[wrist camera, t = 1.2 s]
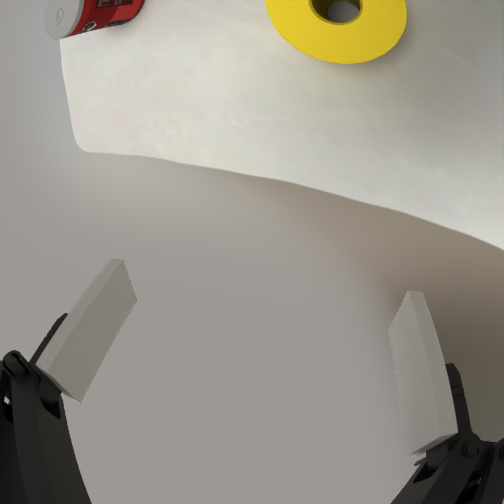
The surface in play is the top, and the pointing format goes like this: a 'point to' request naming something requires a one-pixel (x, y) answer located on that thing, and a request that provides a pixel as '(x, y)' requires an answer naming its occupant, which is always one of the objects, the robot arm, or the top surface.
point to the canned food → (87, 15)
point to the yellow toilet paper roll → (339, 28)
